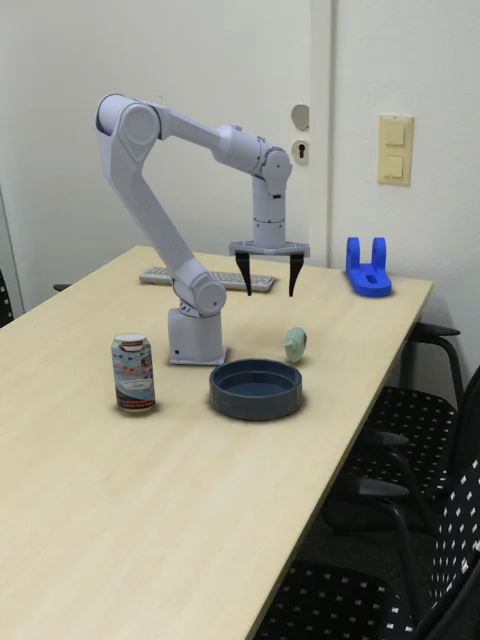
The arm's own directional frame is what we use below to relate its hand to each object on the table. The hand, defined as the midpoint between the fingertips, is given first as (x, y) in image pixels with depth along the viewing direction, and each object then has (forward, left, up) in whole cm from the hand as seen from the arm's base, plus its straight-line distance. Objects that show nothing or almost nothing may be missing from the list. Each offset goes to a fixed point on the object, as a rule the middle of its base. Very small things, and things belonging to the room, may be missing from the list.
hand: (270, 294), depth 145 cm
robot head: (+5, -9, -10) cm, 14 cm away
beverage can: (-20, -29, -10) cm, 37 cm away
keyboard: (-16, +34, -10) cm, 39 cm away
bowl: (-1, -25, -9) cm, 27 cm away
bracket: (+21, +37, -10) cm, 44 cm away
